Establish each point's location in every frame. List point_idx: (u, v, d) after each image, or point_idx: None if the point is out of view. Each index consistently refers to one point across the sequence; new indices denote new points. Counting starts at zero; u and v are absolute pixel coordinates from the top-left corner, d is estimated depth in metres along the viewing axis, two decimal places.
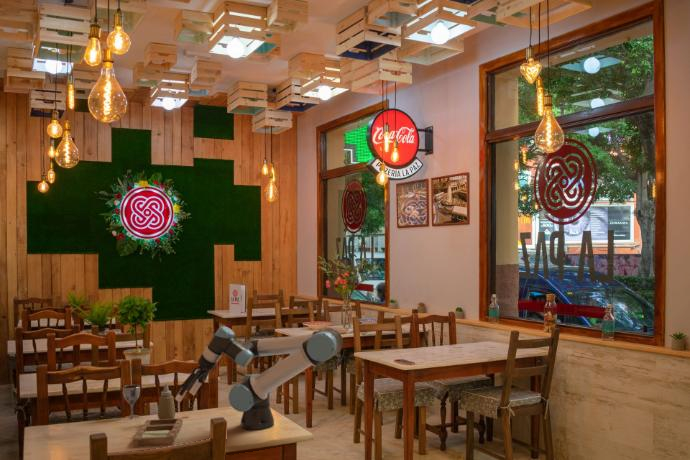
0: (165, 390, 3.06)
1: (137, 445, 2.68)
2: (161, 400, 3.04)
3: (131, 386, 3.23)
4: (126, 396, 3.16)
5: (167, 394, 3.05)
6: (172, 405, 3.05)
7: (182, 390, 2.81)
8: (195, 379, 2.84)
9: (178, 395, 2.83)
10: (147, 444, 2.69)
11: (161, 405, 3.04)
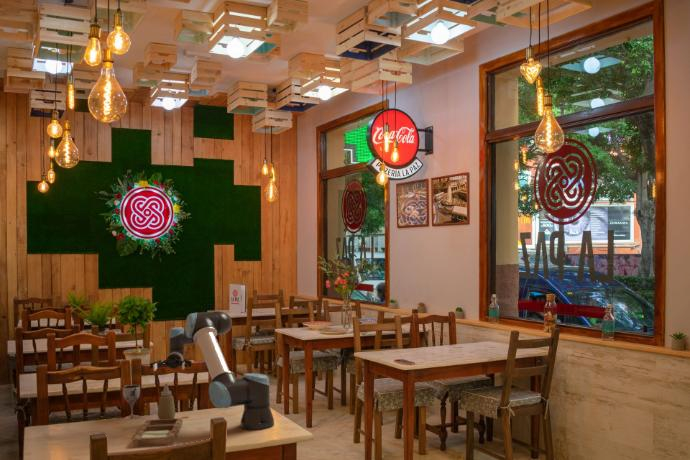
0: (165, 390, 3.06)
1: (137, 445, 2.68)
2: (161, 400, 3.04)
3: (131, 386, 3.23)
4: (126, 396, 3.16)
5: (167, 394, 3.05)
6: (172, 405, 3.05)
7: (152, 366, 3.22)
8: None
9: None
10: (147, 444, 2.69)
11: (161, 405, 3.04)
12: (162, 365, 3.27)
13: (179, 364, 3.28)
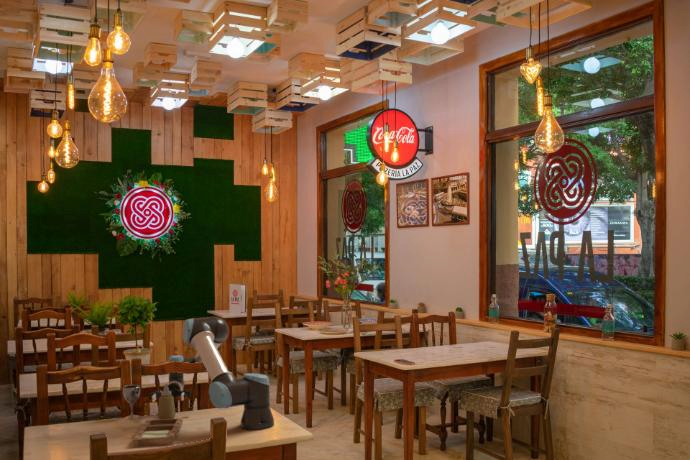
0: (165, 390, 3.06)
1: (137, 445, 2.68)
2: (161, 400, 3.04)
3: (131, 386, 3.23)
4: (126, 396, 3.16)
5: (167, 394, 3.05)
6: (172, 405, 3.05)
7: (151, 397, 3.17)
8: (161, 391, 3.24)
9: None
10: (147, 444, 2.69)
11: (161, 405, 3.04)
12: None
13: (178, 394, 3.24)
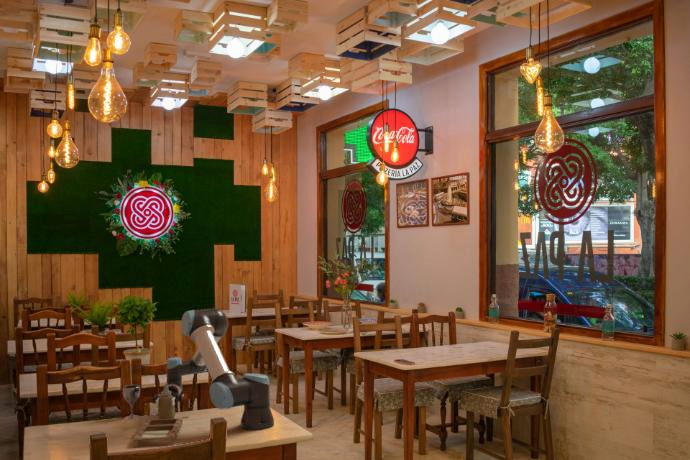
0: (165, 390, 3.06)
1: (137, 445, 2.68)
2: (161, 400, 3.04)
3: (131, 386, 3.23)
4: (126, 396, 3.16)
5: (167, 394, 3.05)
6: None
7: (155, 401, 3.07)
8: None
9: None
10: (147, 444, 2.69)
11: (161, 405, 3.04)
12: None
13: None
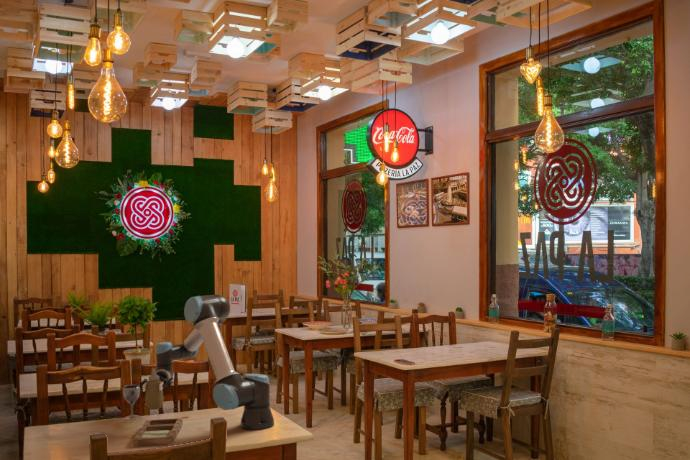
0: (153, 374, 2.92)
1: (137, 445, 2.68)
2: (148, 385, 2.90)
3: (131, 386, 3.23)
4: (126, 396, 3.16)
5: (155, 379, 2.91)
6: None
7: None
8: None
9: None
10: (147, 444, 2.69)
11: (148, 390, 2.89)
12: None
13: None
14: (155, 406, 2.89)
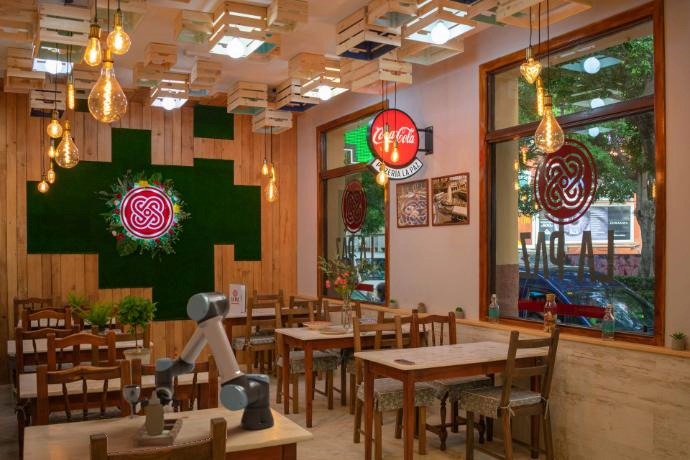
0: (153, 398, 2.74)
1: (137, 445, 2.68)
2: (149, 409, 2.72)
3: (131, 386, 3.23)
4: (126, 396, 3.16)
5: (155, 402, 2.73)
6: (161, 415, 2.74)
7: (135, 406, 2.76)
8: (146, 400, 2.83)
9: None
10: (147, 444, 2.69)
11: (149, 415, 2.72)
12: (147, 404, 2.81)
13: (166, 403, 2.83)
14: (156, 432, 2.72)
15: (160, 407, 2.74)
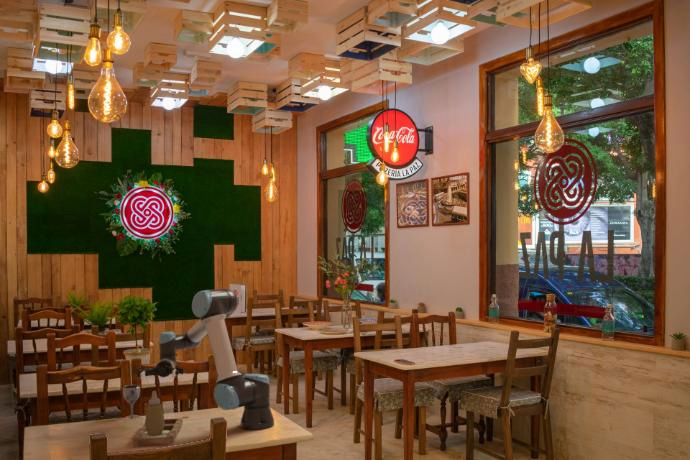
0: (153, 398, 2.74)
1: (137, 445, 2.68)
2: (149, 409, 2.72)
3: (131, 386, 3.23)
4: (126, 396, 3.16)
5: (155, 402, 2.73)
6: (161, 415, 2.74)
7: (140, 374, 2.90)
8: (150, 369, 2.96)
9: None
10: (147, 444, 2.69)
11: (149, 415, 2.72)
12: (151, 373, 2.95)
13: (170, 372, 2.96)
14: (156, 432, 2.72)
15: (160, 407, 2.74)
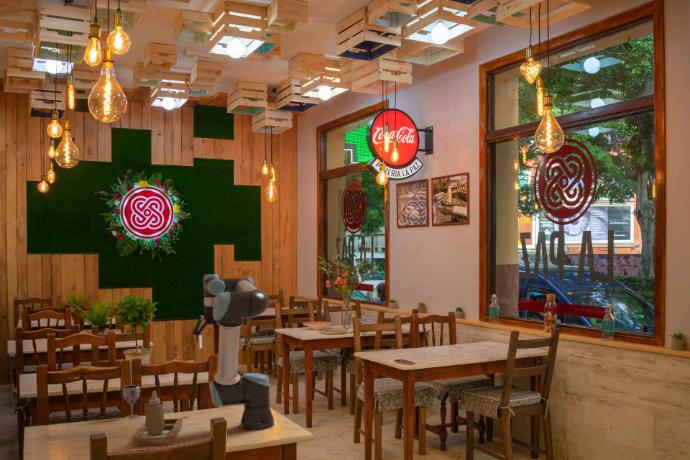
0: (153, 398, 2.74)
1: (137, 445, 2.68)
2: (149, 409, 2.72)
3: (131, 386, 3.23)
4: (126, 396, 3.16)
5: (155, 402, 2.73)
6: (161, 415, 2.74)
7: None
8: (202, 325, 3.23)
9: None
10: (147, 444, 2.69)
11: (149, 415, 2.72)
12: (204, 327, 3.25)
13: None
14: (156, 432, 2.72)
15: (160, 407, 2.74)
